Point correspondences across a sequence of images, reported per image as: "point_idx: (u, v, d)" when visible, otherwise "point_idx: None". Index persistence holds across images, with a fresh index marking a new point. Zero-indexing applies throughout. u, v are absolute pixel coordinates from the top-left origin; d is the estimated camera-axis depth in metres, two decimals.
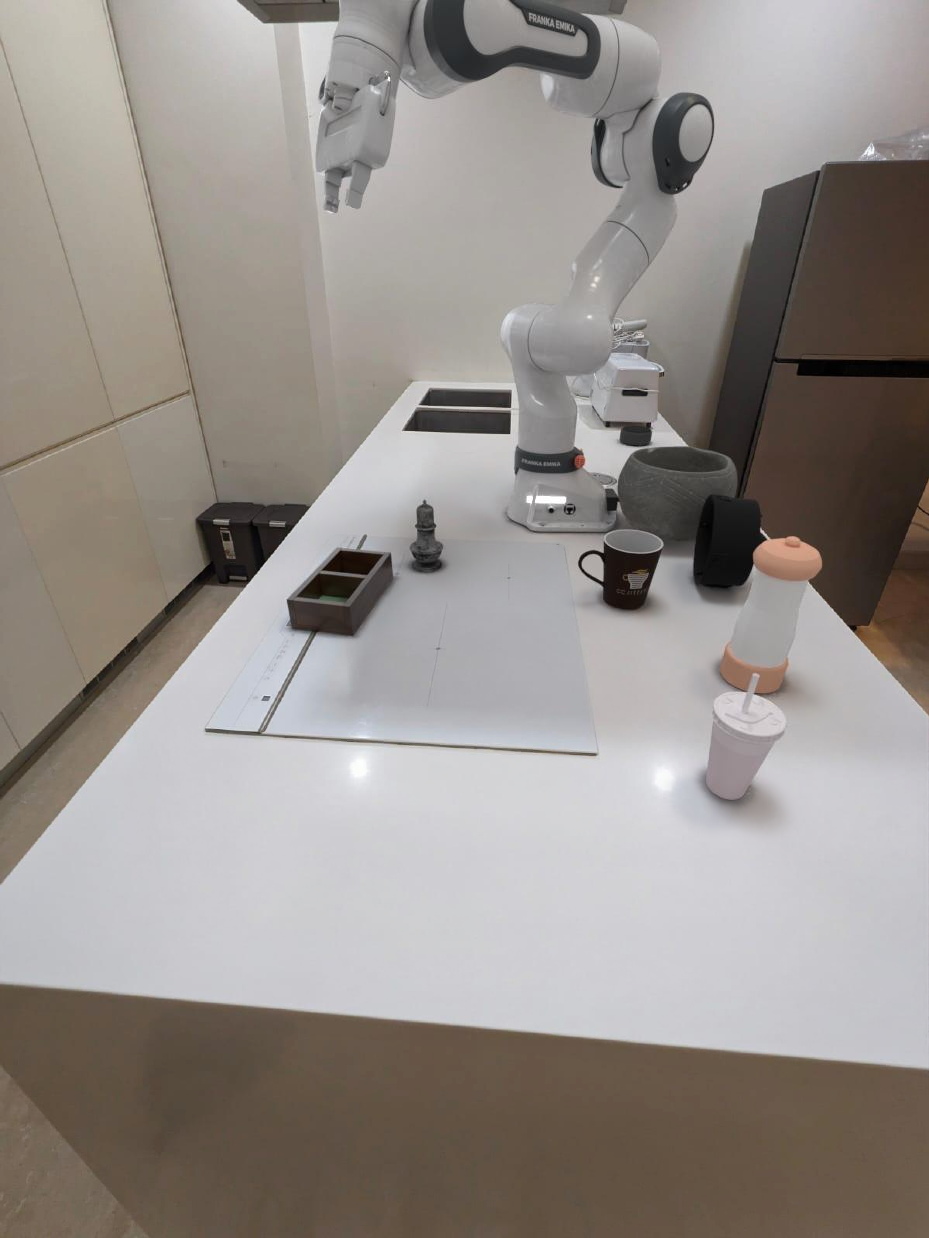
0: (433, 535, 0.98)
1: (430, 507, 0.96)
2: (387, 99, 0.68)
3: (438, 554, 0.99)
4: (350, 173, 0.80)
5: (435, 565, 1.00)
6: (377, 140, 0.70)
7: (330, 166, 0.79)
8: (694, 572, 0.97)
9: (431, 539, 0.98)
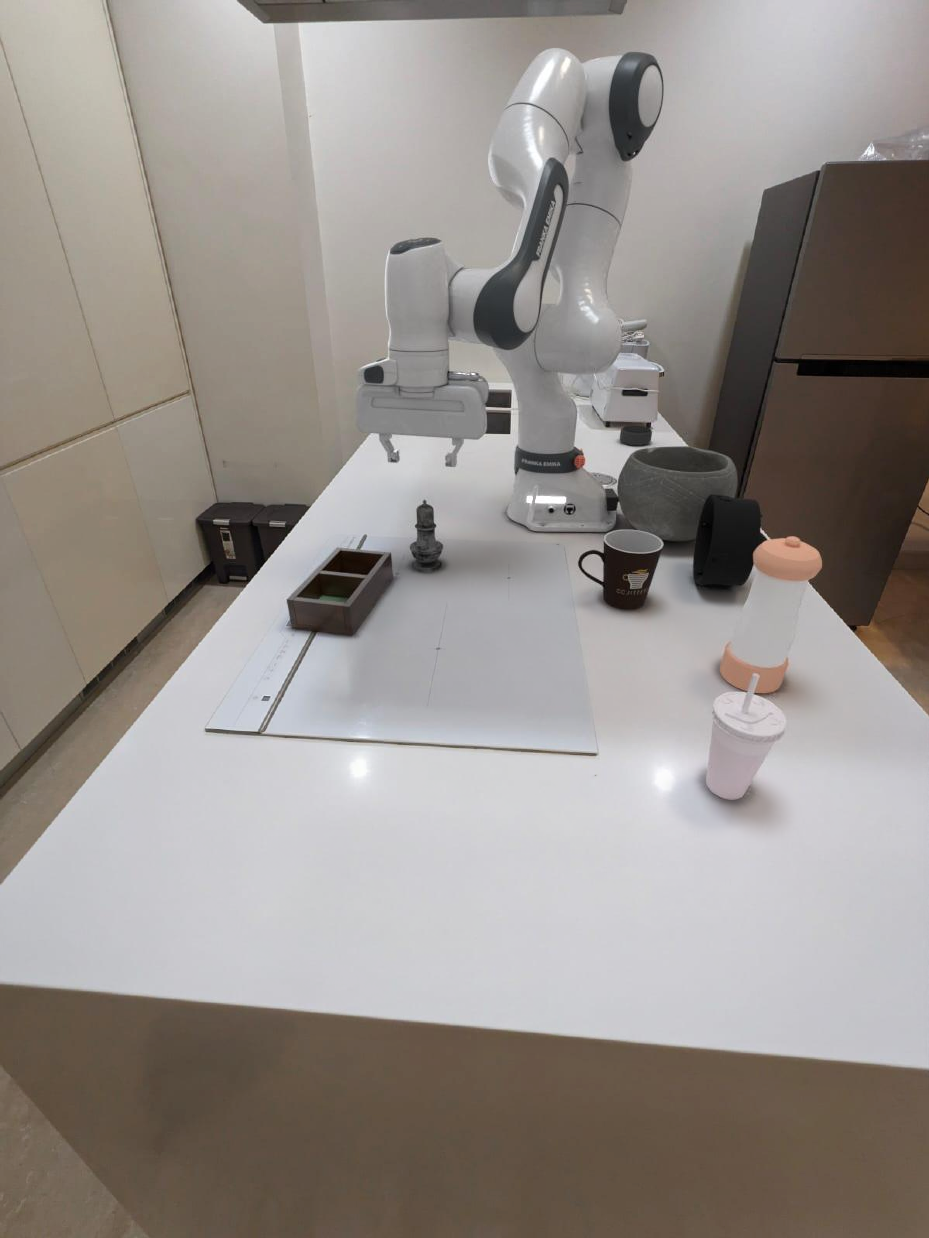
0: (433, 535, 0.98)
1: (430, 507, 0.96)
2: (488, 395, 0.85)
3: (438, 554, 0.99)
4: None
5: (435, 565, 1.00)
6: (485, 424, 0.87)
7: (402, 434, 0.89)
8: (694, 572, 0.97)
9: (431, 539, 0.98)
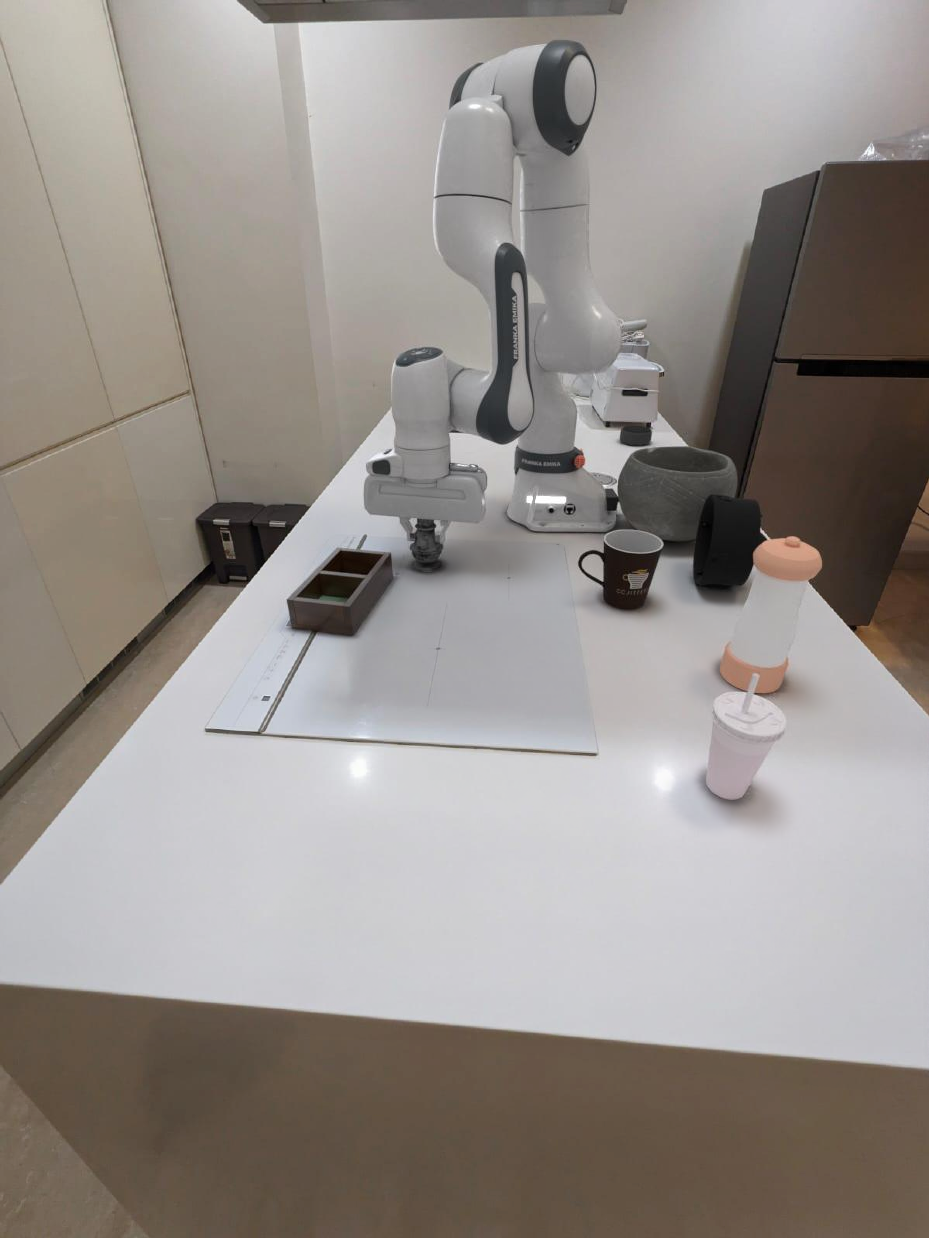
0: (433, 535, 0.98)
1: None
2: (486, 484, 0.92)
3: (438, 554, 0.99)
4: None
5: (435, 565, 1.00)
6: (484, 508, 0.94)
7: (407, 517, 0.96)
8: (694, 572, 0.97)
9: (432, 539, 0.98)
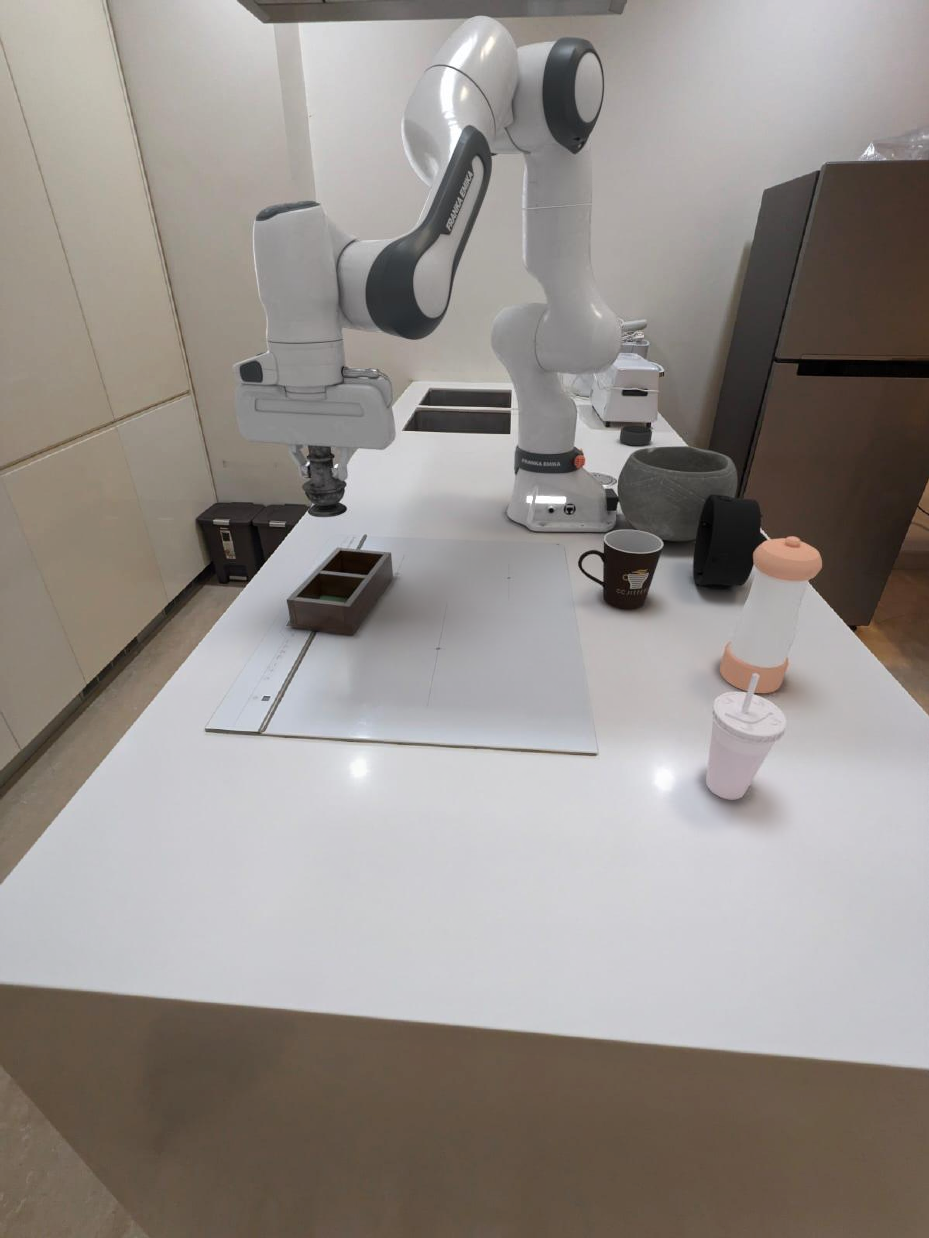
0: None
1: None
2: (392, 395, 0.70)
3: (338, 494, 0.77)
4: None
5: (337, 509, 0.78)
6: (391, 430, 0.72)
7: (294, 444, 0.74)
8: (694, 572, 0.97)
9: (329, 474, 0.76)
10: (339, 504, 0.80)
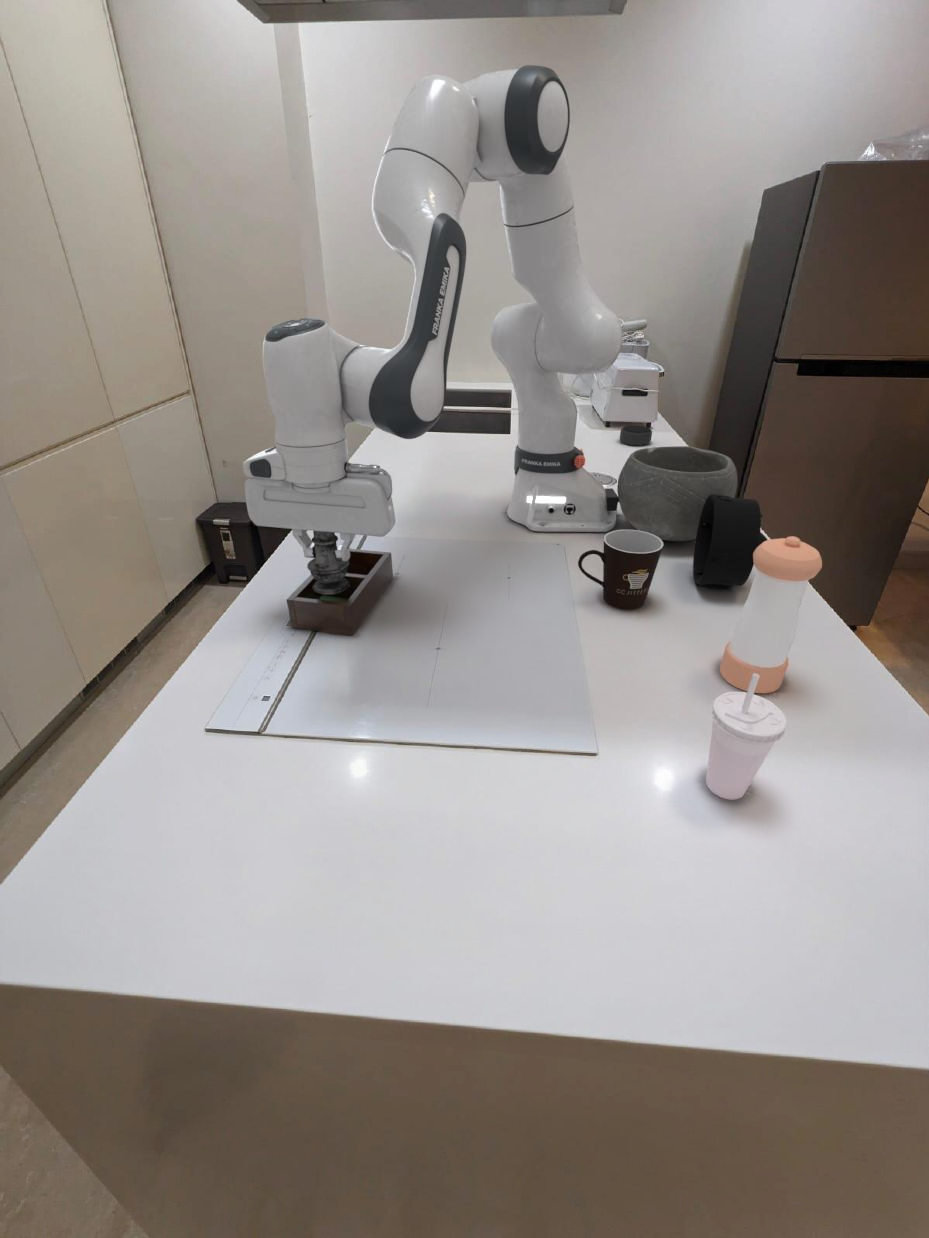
0: (334, 550, 0.81)
1: None
2: (391, 489, 0.75)
3: (341, 573, 0.82)
4: None
5: (340, 585, 0.83)
6: (391, 519, 0.77)
7: (300, 529, 0.79)
8: (694, 572, 0.97)
9: (332, 555, 0.81)
10: (342, 579, 0.85)
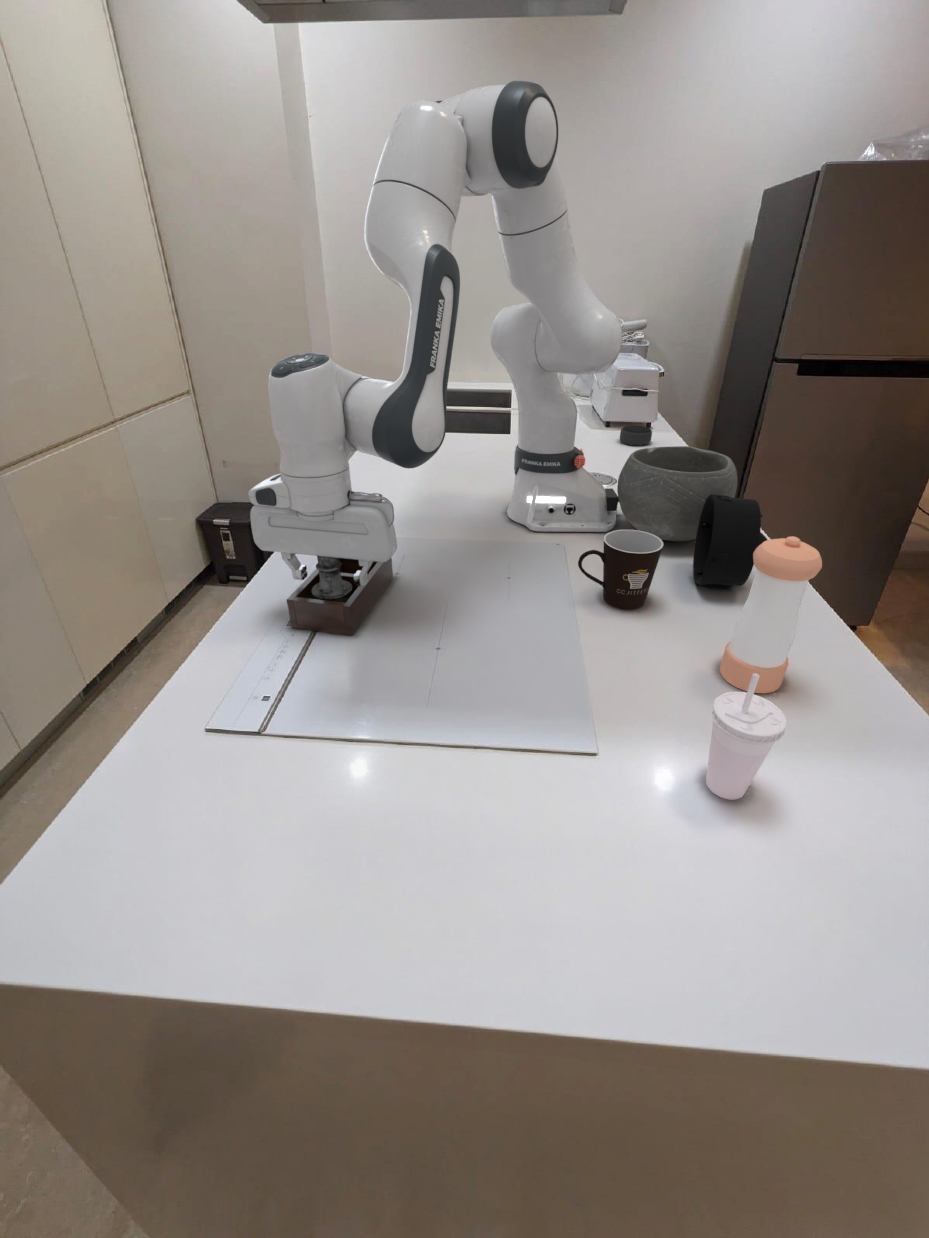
0: (338, 576, 0.83)
1: None
2: (393, 516, 0.77)
3: (345, 598, 0.84)
4: None
5: None
6: (393, 544, 0.79)
7: (305, 554, 0.81)
8: (694, 572, 0.97)
9: (336, 581, 0.83)
10: None
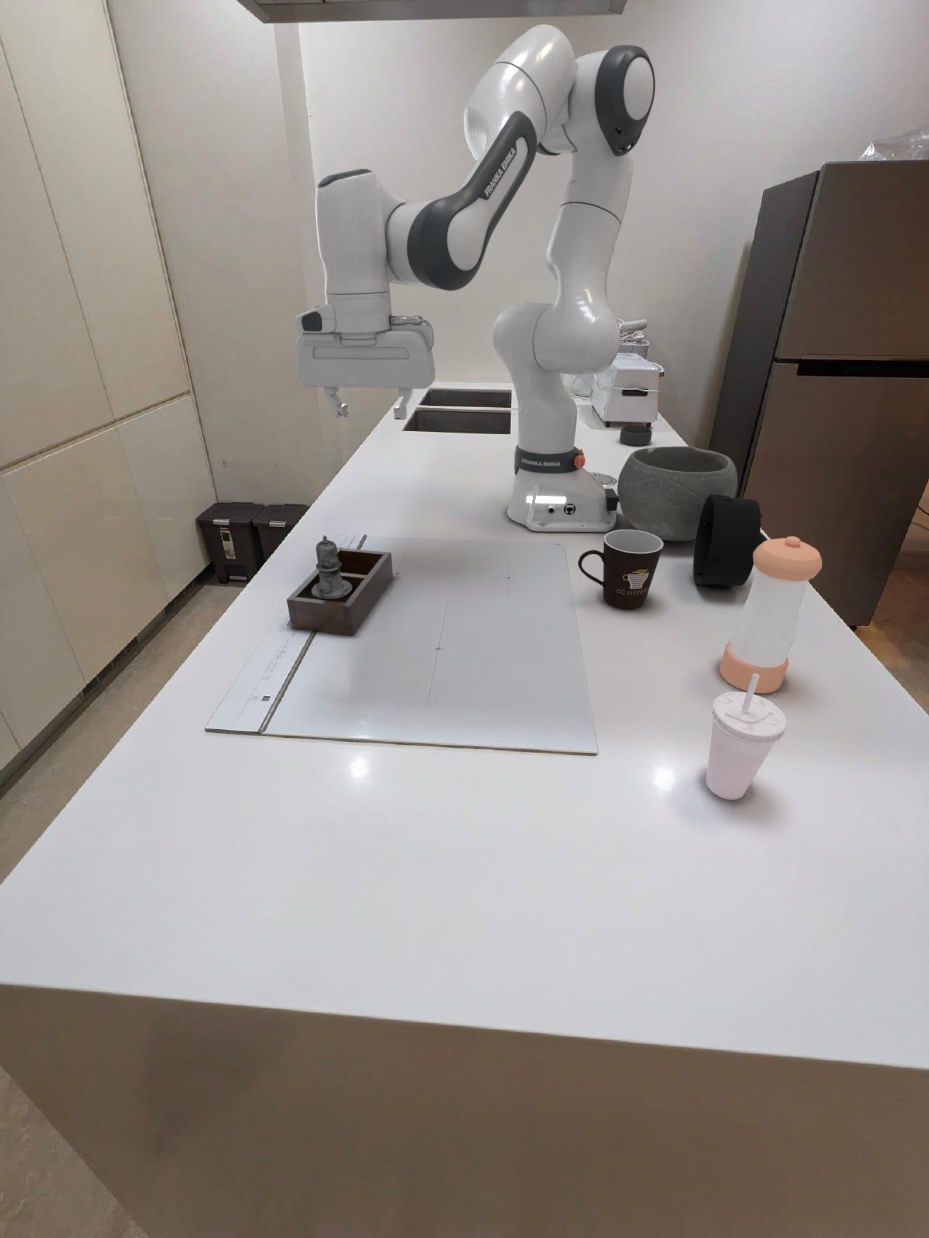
0: (338, 576, 0.83)
1: (331, 544, 0.81)
2: (433, 340, 0.80)
3: (345, 598, 0.84)
4: None
5: None
6: (432, 371, 0.83)
7: None
8: (694, 572, 0.97)
9: (336, 581, 0.83)
10: None
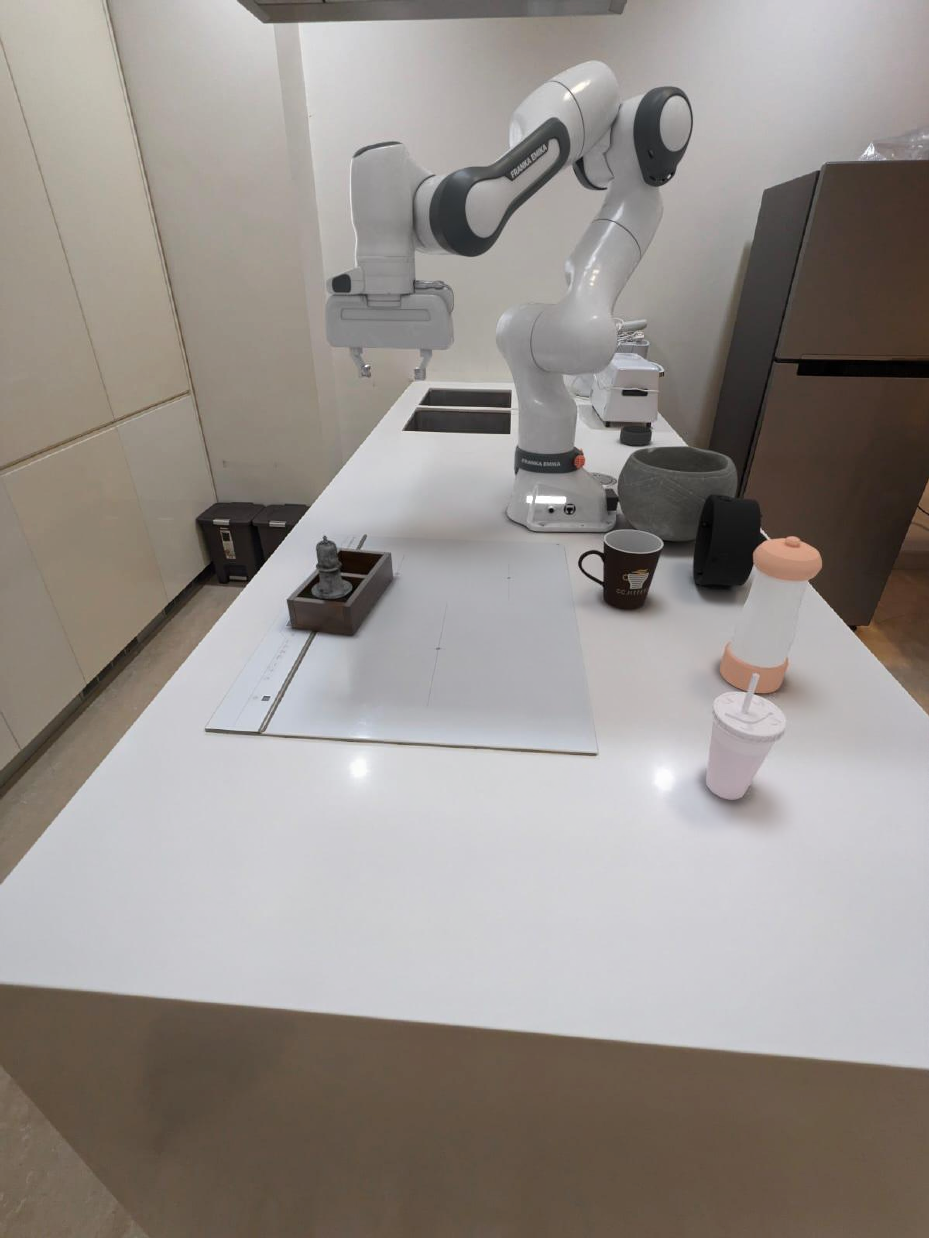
0: (338, 576, 0.83)
1: (331, 544, 0.81)
2: (453, 304, 0.87)
3: (345, 598, 0.84)
4: None
5: None
6: (451, 334, 0.89)
7: (371, 347, 0.91)
8: (694, 572, 0.97)
9: (336, 581, 0.83)
10: None
